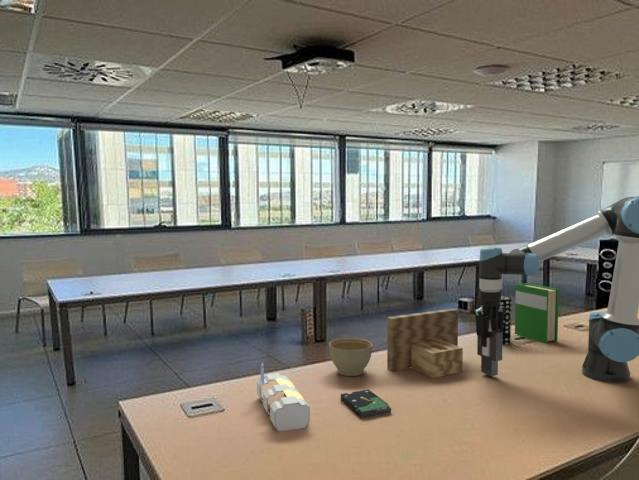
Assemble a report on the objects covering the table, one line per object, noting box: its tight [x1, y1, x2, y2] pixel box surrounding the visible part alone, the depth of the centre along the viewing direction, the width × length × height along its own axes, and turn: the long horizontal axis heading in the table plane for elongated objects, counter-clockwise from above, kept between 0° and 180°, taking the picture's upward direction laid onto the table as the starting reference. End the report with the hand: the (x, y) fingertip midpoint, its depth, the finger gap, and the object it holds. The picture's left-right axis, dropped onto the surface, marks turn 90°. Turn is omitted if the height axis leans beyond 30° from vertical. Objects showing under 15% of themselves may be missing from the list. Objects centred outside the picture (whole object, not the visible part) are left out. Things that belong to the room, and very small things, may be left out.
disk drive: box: [340, 389, 392, 420], centre depth 153 cm, size 10×3×15 cm
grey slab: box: [476, 328, 503, 377], centre depth 178 cm, size 3×9×16 cm, turn 27°
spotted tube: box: [499, 295, 512, 345], centre depth 221 cm, size 8×8×20 cm
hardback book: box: [514, 282, 560, 345], centre depth 227 cm, size 18×7×24 cm, turn 25°
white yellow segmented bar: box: [256, 362, 311, 432], centre depth 149 cm, size 25×10×13 cm, turn 18°
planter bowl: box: [328, 337, 373, 377], centre depth 183 cm, size 16×16×11 cm
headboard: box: [386, 308, 464, 379], centre depth 186 cm, size 32×16×20 cm, turn 117°
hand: (489, 354), depth 178 cm, fingers closed on grey slab, 3 cm apart
